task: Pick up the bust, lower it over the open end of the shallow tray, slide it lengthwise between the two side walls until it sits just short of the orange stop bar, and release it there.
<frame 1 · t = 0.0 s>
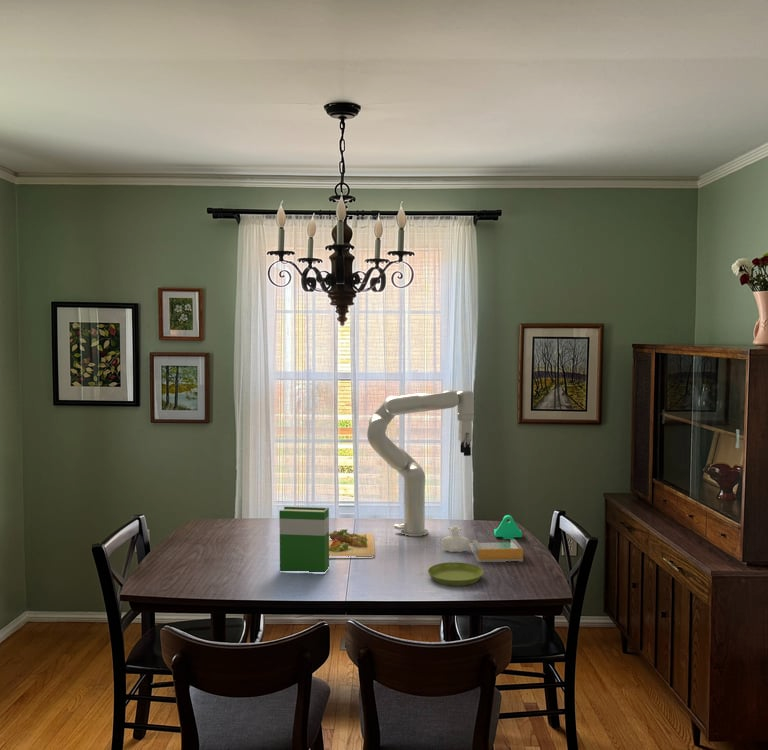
hand: (465, 454, 321), 37 cm above the table, tool pointing down, fingers open, 9 cm apart
saucer: (455, 579, 258), on the table
shallow tray: (494, 553, 290), on the table
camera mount: (507, 537, 315), on the table
bust: (455, 550, 294), on the table
green cereal box: (304, 571, 268), on the table
cutting board: (347, 548, 300), on the table
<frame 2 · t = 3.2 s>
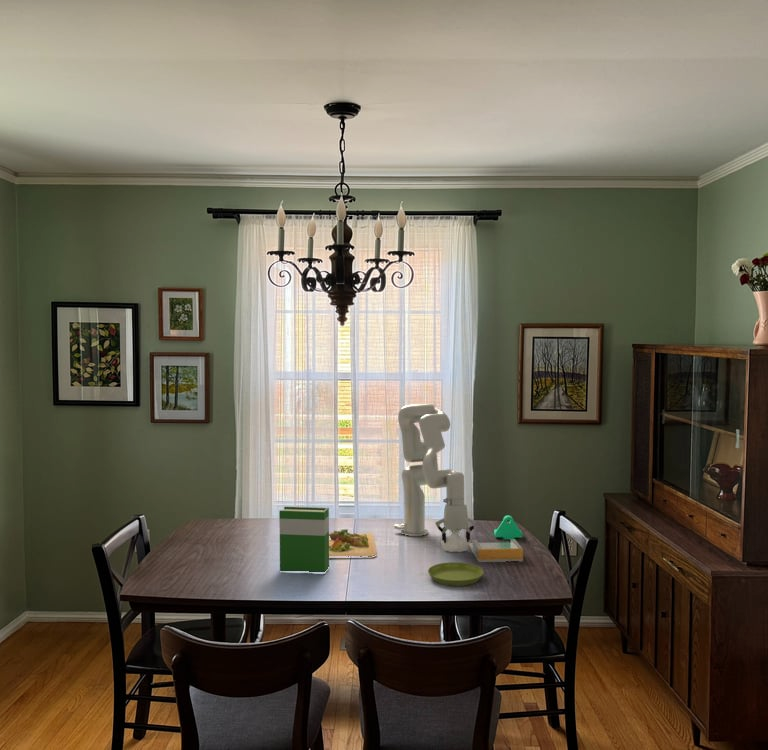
hand: (456, 541, 293), 4 cm above the table, tool pointing down, fingers open, 9 cm apart
bust: (455, 550, 294), on the table, touching gripper
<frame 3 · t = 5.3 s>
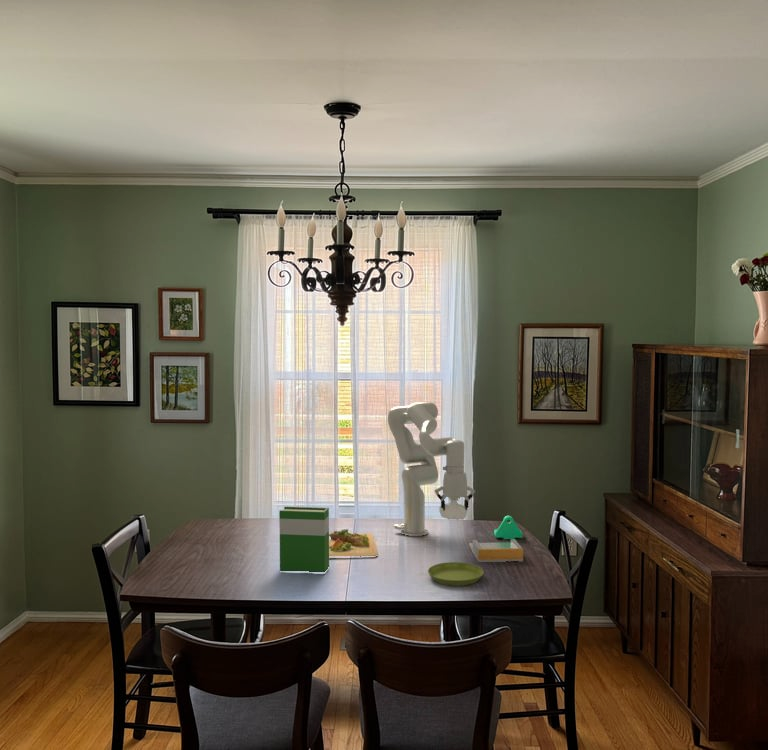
hand: (454, 509, 294), 17 cm above the table, tool pointing down, fingers closed on bust, 9 cm apart
bust: (452, 518, 295), point 13 cm above the table, touching gripper
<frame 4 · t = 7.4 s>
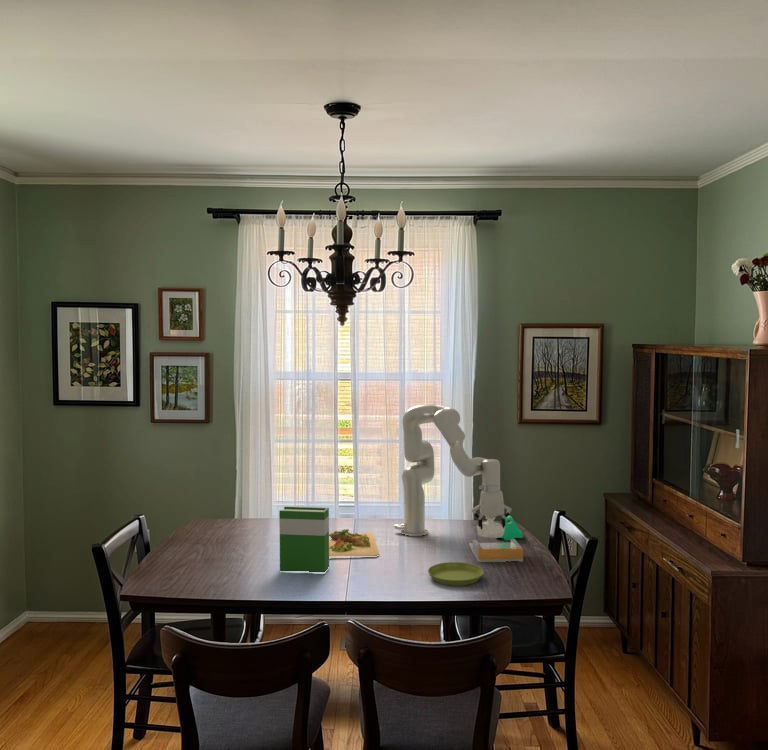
hand: (491, 528, 297), 9 cm above the table, tool pointing down, fingers closed on bust, 9 cm apart
bust: (490, 536, 298), point 5 cm above the table, touching gripper
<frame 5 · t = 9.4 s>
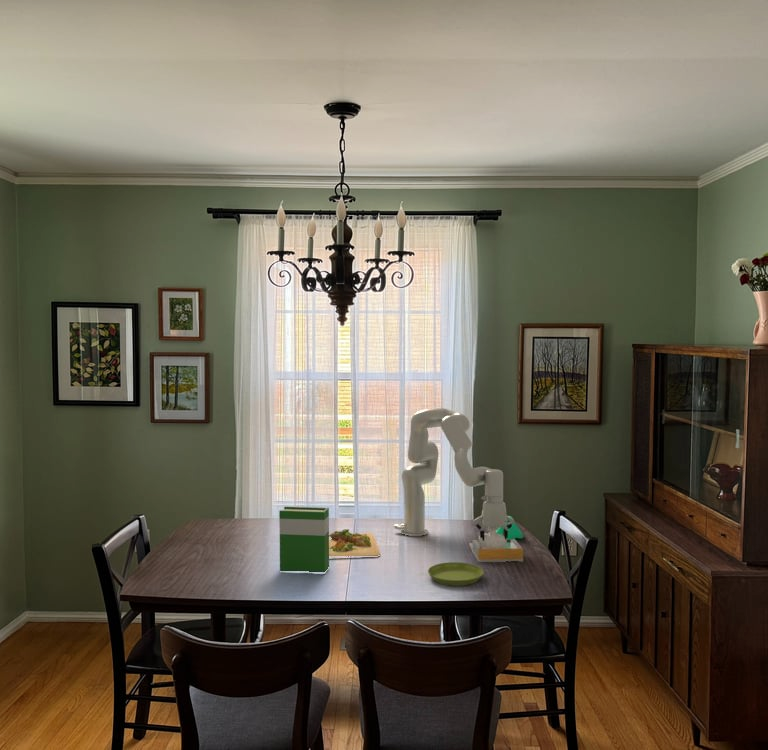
hand: (493, 539, 291), 5 cm above the table, tool pointing down, fingers closed on bust, 9 cm apart
bust: (492, 548, 292), point 1 cm above the table, touching gripper
when the fingers open (5 cm above the table, at t = 11.2 s): bust stays where it is, resting on shallow tray.
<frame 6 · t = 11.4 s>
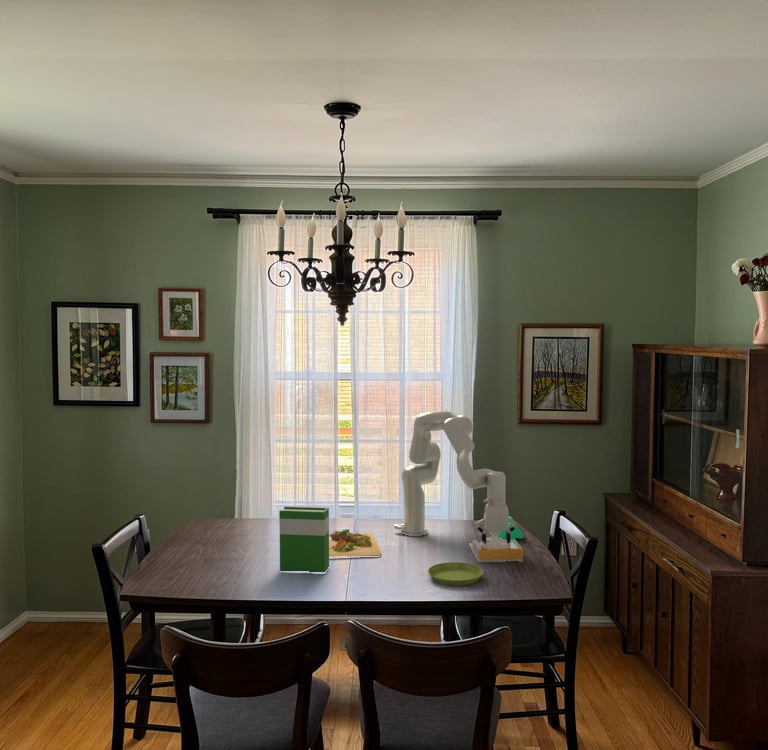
hand: (496, 542, 287), 5 cm above the table, tool pointing down, fingers open, 9 cm apart
bust: (494, 552, 287), point 1 cm above the table, touching shallow tray, gripper
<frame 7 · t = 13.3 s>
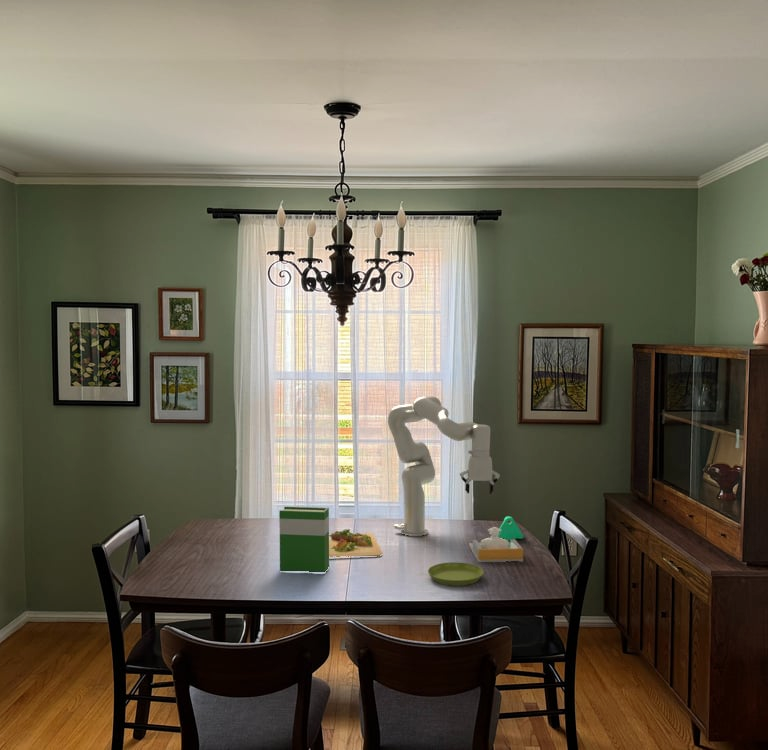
hand: (479, 492, 297), 24 cm above the table, tool pointing down, fingers open, 9 cm apart
bust: (494, 552, 287), point 1 cm above the table, touching shallow tray
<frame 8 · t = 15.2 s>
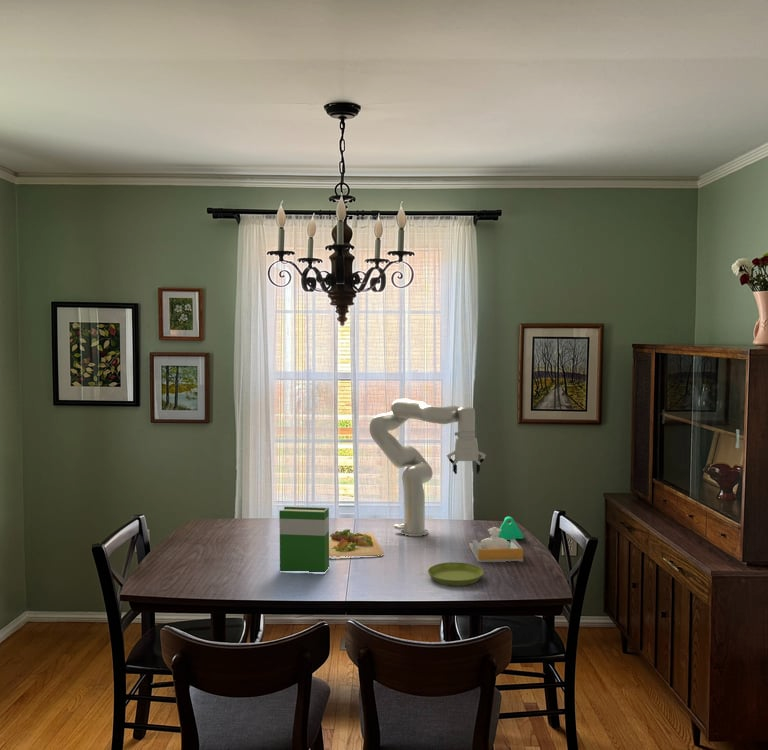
hand: (466, 473, 307), 30 cm above the table, tool pointing down, fingers open, 9 cm apart
at the end: bust inside the target area on the shallow tray (3.4 cm from its centre), point 0.8 cm above the shallow tray's base; bust tilted 0°; the gripper is holding nothing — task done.
